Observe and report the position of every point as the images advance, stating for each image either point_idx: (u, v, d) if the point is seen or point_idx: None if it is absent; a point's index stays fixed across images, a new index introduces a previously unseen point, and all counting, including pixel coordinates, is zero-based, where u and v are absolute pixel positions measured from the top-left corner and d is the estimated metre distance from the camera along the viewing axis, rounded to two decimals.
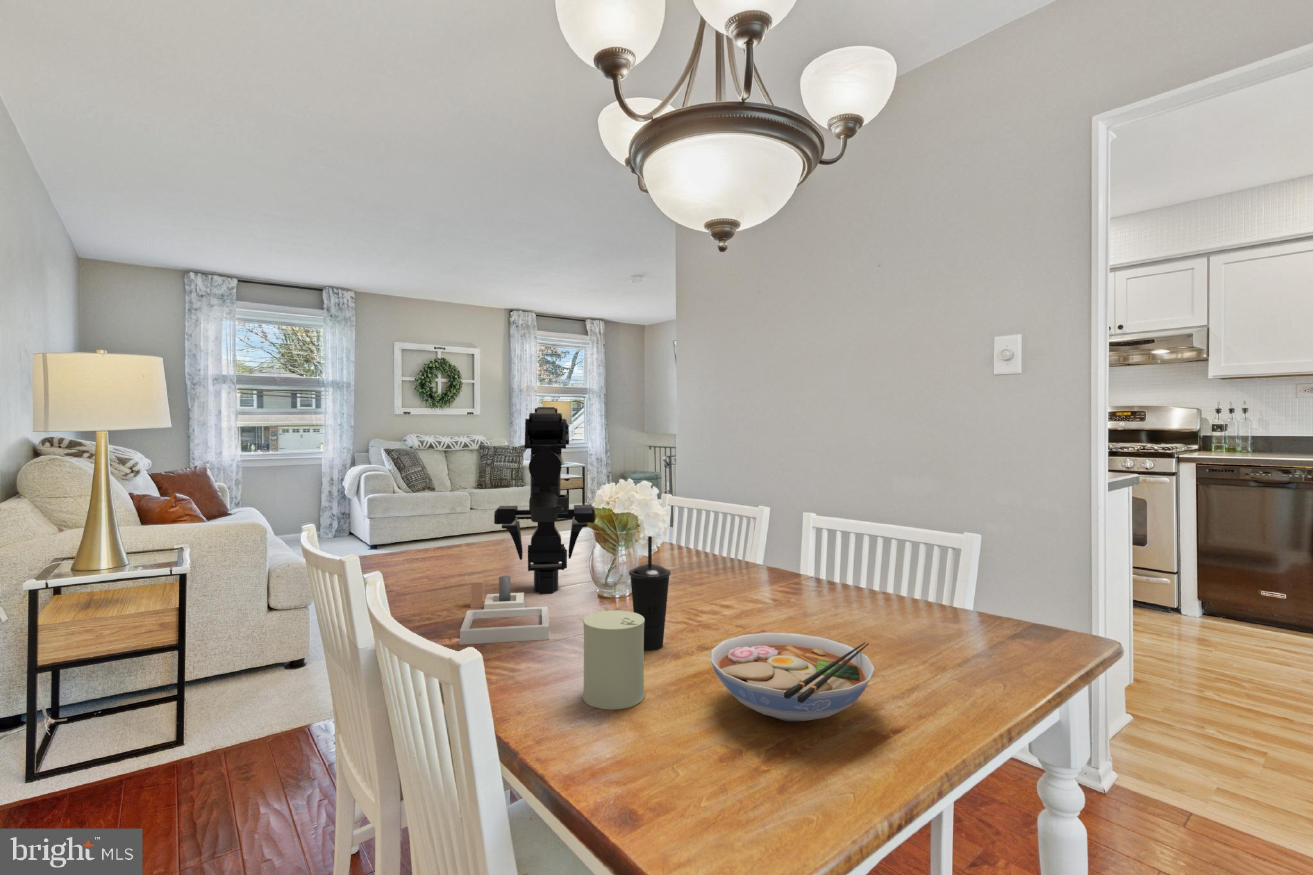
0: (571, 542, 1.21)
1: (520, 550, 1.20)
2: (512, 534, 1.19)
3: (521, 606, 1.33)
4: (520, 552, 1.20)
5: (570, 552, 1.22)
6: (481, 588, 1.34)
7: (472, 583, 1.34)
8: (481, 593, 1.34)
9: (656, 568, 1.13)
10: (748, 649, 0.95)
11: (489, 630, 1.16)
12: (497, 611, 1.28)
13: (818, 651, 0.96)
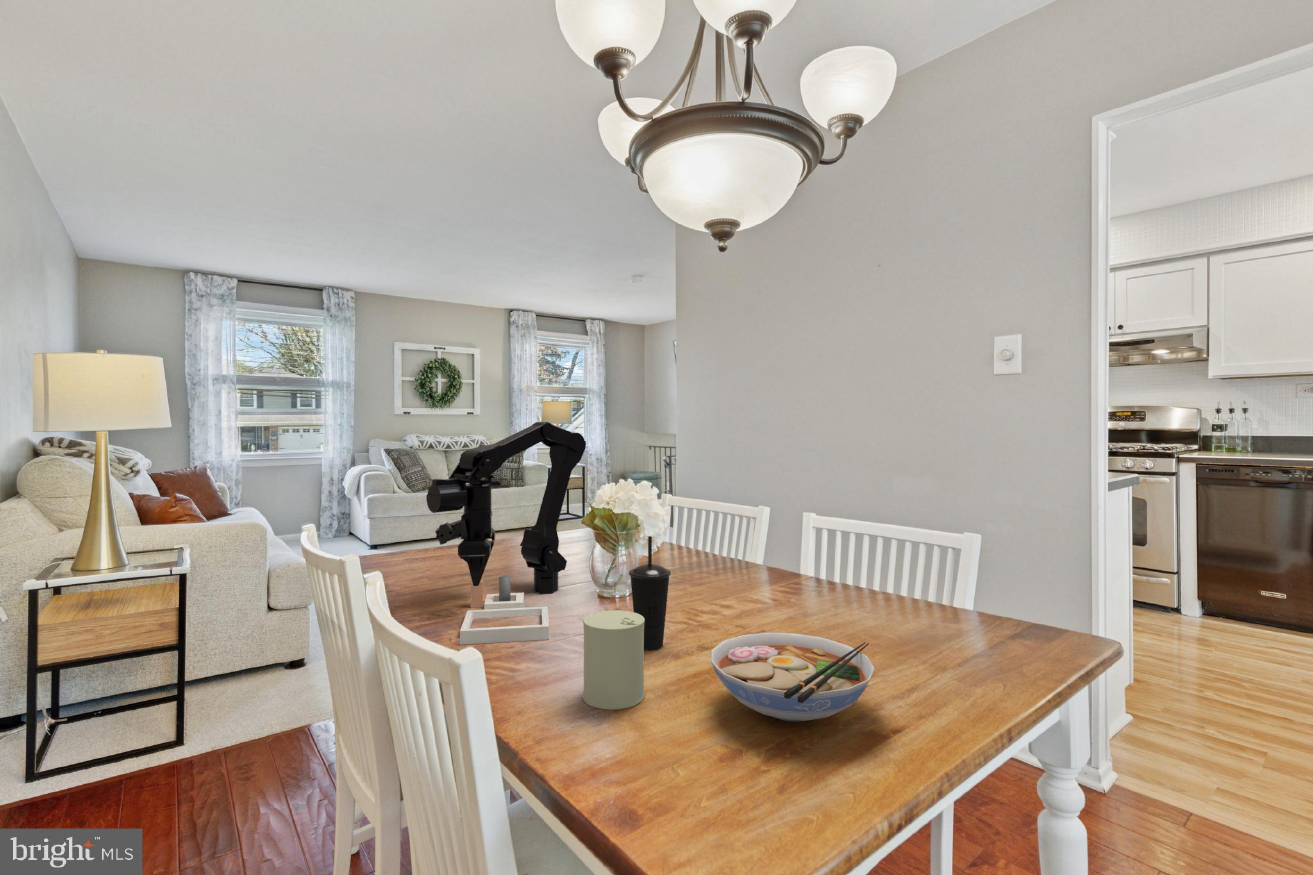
0: (470, 570, 1.30)
1: None
2: None
3: (521, 606, 1.33)
4: None
5: (472, 580, 1.31)
6: (481, 588, 1.34)
7: (472, 583, 1.34)
8: (481, 593, 1.34)
9: (656, 568, 1.13)
10: (748, 649, 0.95)
11: (489, 630, 1.16)
12: (497, 611, 1.28)
13: (818, 651, 0.96)
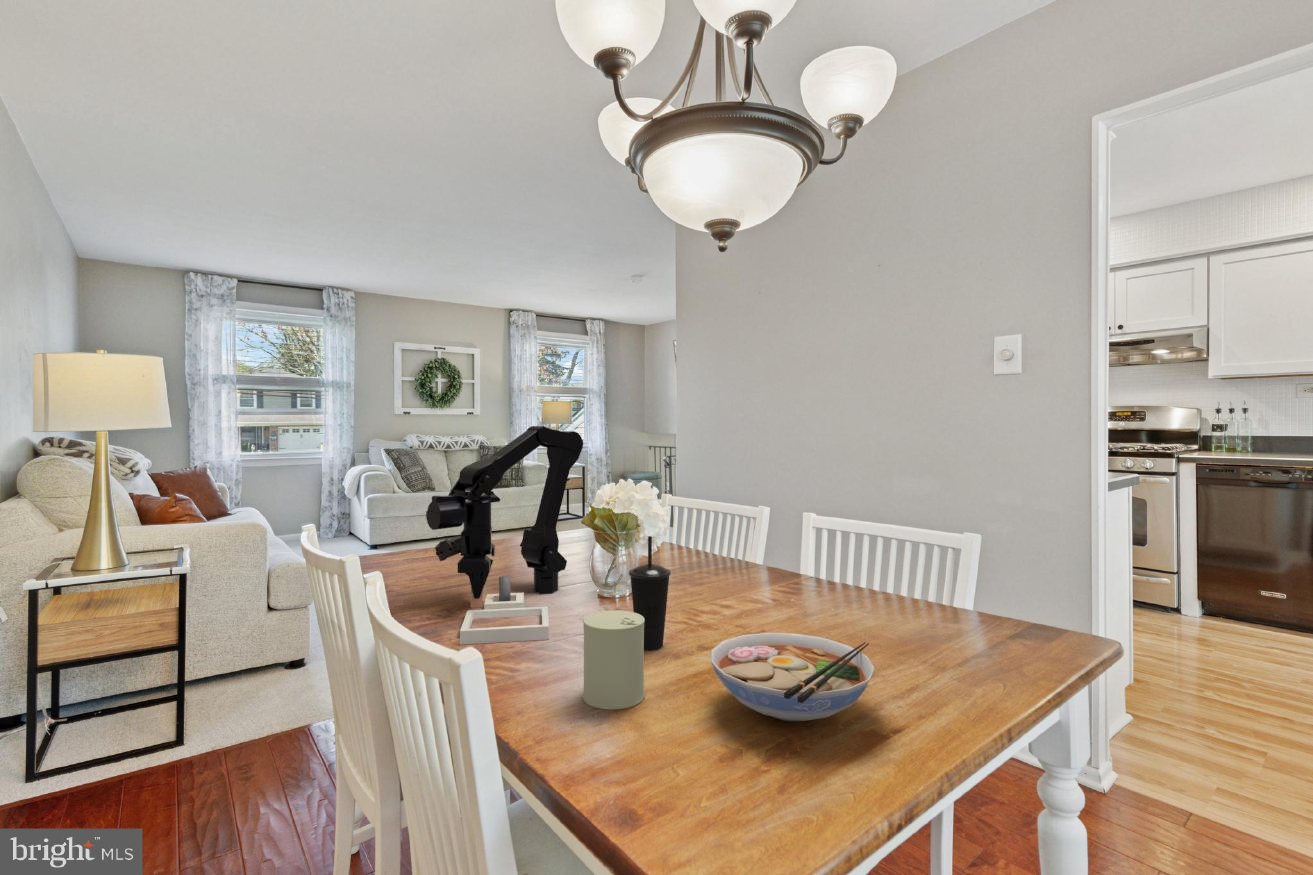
0: (471, 583, 1.33)
1: None
2: None
3: (521, 606, 1.33)
4: None
5: (473, 592, 1.34)
6: None
7: None
8: (481, 593, 1.34)
9: (656, 568, 1.13)
10: (748, 649, 0.95)
11: (489, 630, 1.16)
12: (497, 611, 1.28)
13: (818, 651, 0.96)
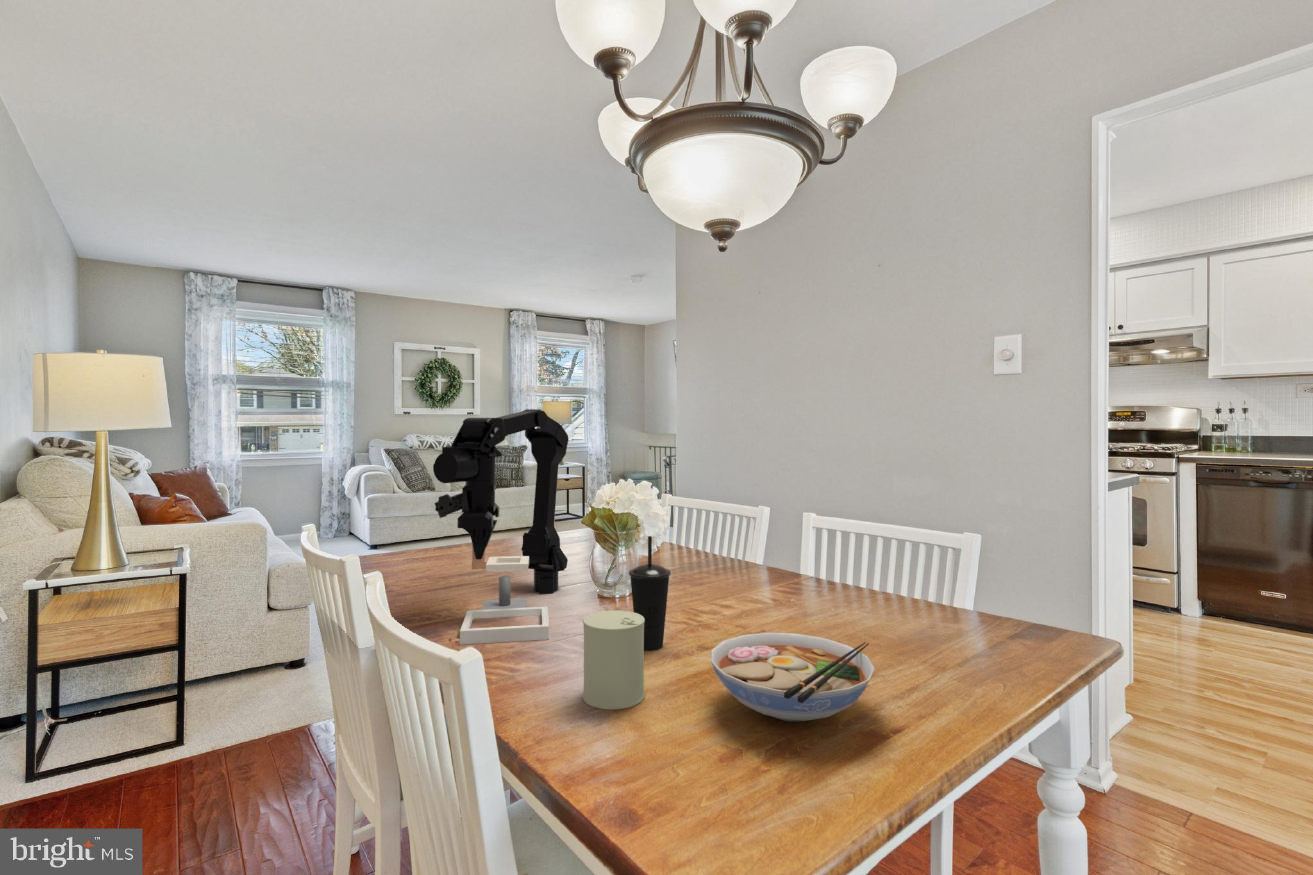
0: None
1: None
2: None
3: (525, 568, 1.24)
4: None
5: None
6: None
7: None
8: (483, 554, 1.25)
9: (656, 568, 1.13)
10: (748, 649, 0.95)
11: (489, 630, 1.16)
12: (497, 611, 1.28)
13: (818, 651, 0.96)
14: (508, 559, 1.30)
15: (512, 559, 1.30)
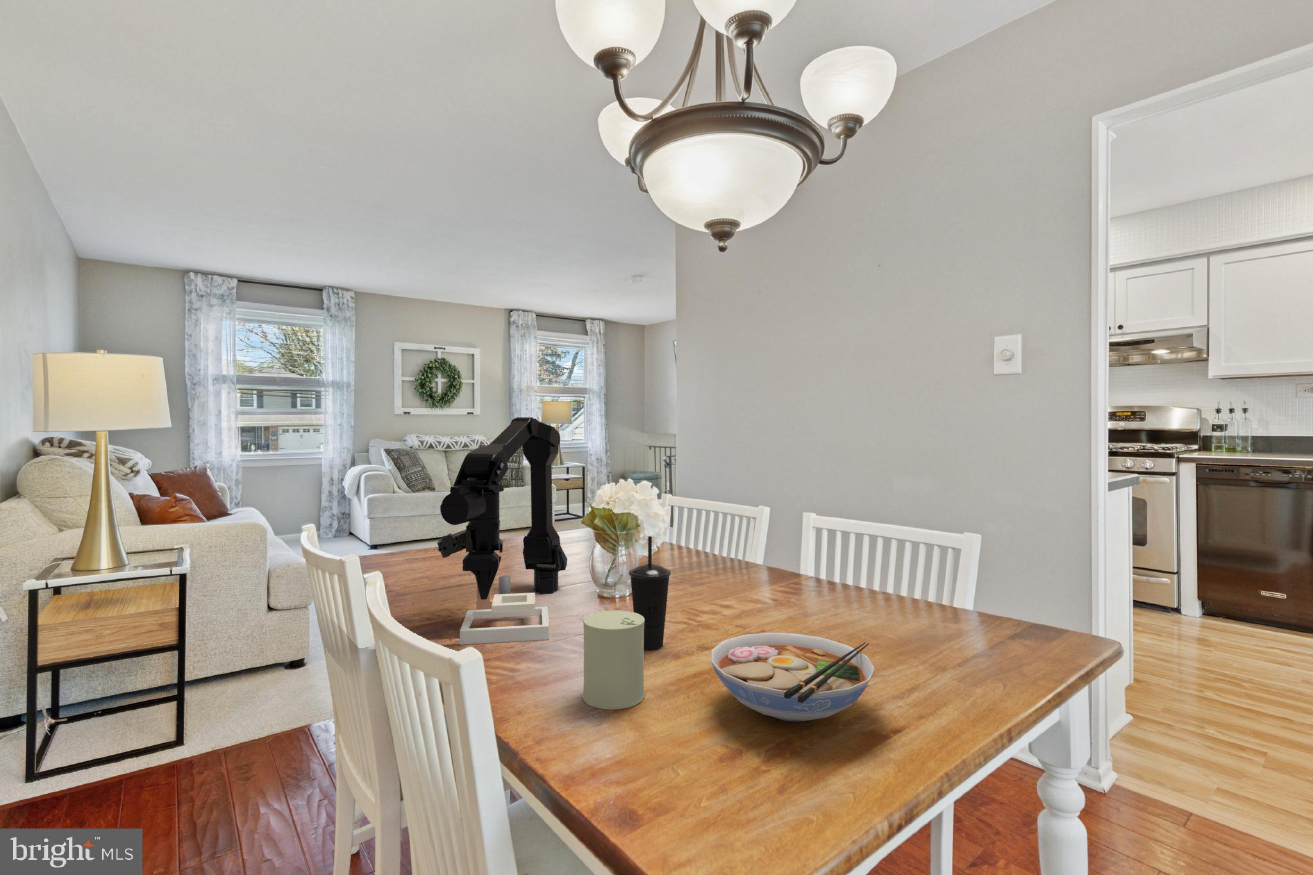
0: (477, 583, 1.20)
1: None
2: None
3: (532, 608, 1.20)
4: None
5: None
6: None
7: None
8: None
9: (656, 568, 1.13)
10: (748, 649, 0.95)
11: (489, 630, 1.16)
12: None
13: (818, 651, 0.96)
14: (513, 597, 1.26)
15: (518, 597, 1.26)
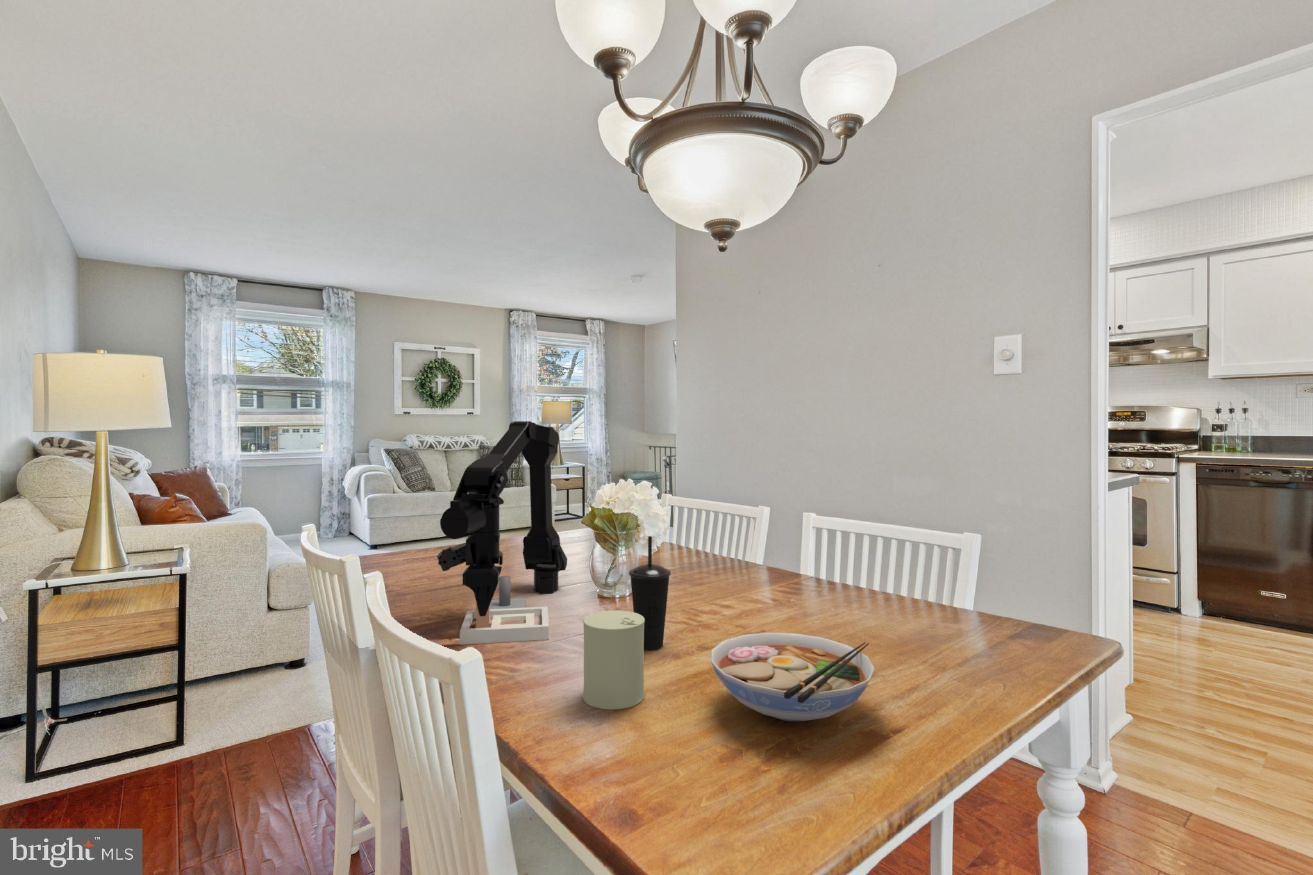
0: None
1: None
2: None
3: None
4: None
5: (478, 609, 1.18)
6: None
7: None
8: (487, 615, 1.21)
9: (656, 568, 1.13)
10: (748, 649, 0.95)
11: (489, 630, 1.16)
12: (497, 611, 1.28)
13: (818, 651, 0.96)
14: (513, 618, 1.26)
15: (517, 617, 1.26)
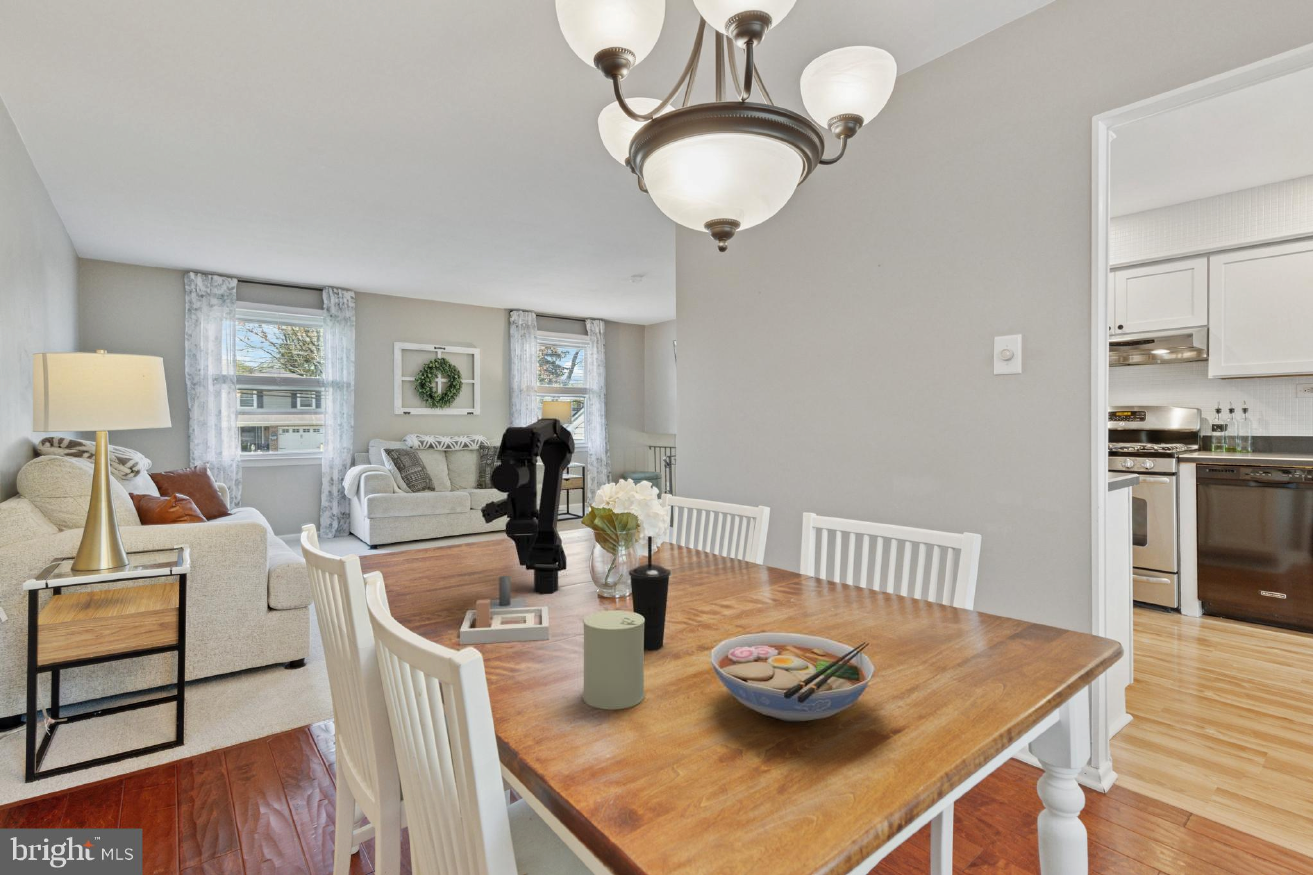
0: None
1: None
2: None
3: None
4: None
5: None
6: (487, 609, 1.21)
7: (477, 604, 1.21)
8: (487, 615, 1.21)
9: (656, 568, 1.13)
10: (748, 649, 0.95)
11: (489, 630, 1.16)
12: (497, 611, 1.28)
13: (818, 651, 0.96)
14: (513, 618, 1.26)
15: (517, 617, 1.26)
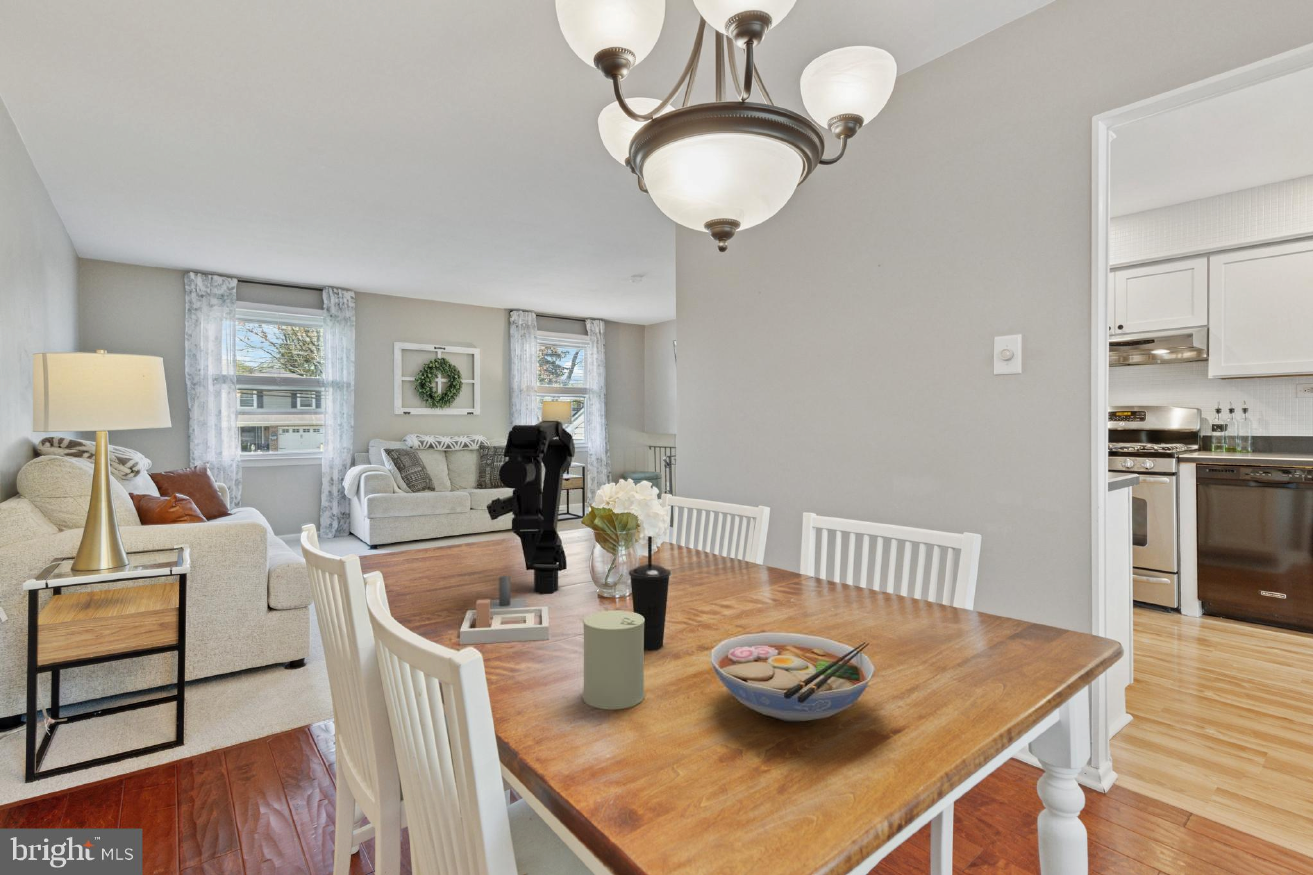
0: (522, 546, 1.29)
1: None
2: None
3: None
4: None
5: (524, 555, 1.29)
6: (487, 609, 1.21)
7: (477, 604, 1.21)
8: (487, 615, 1.21)
9: (656, 568, 1.13)
10: (748, 649, 0.95)
11: (489, 630, 1.16)
12: (497, 611, 1.28)
13: (818, 651, 0.96)
14: (513, 618, 1.26)
15: (517, 617, 1.26)
